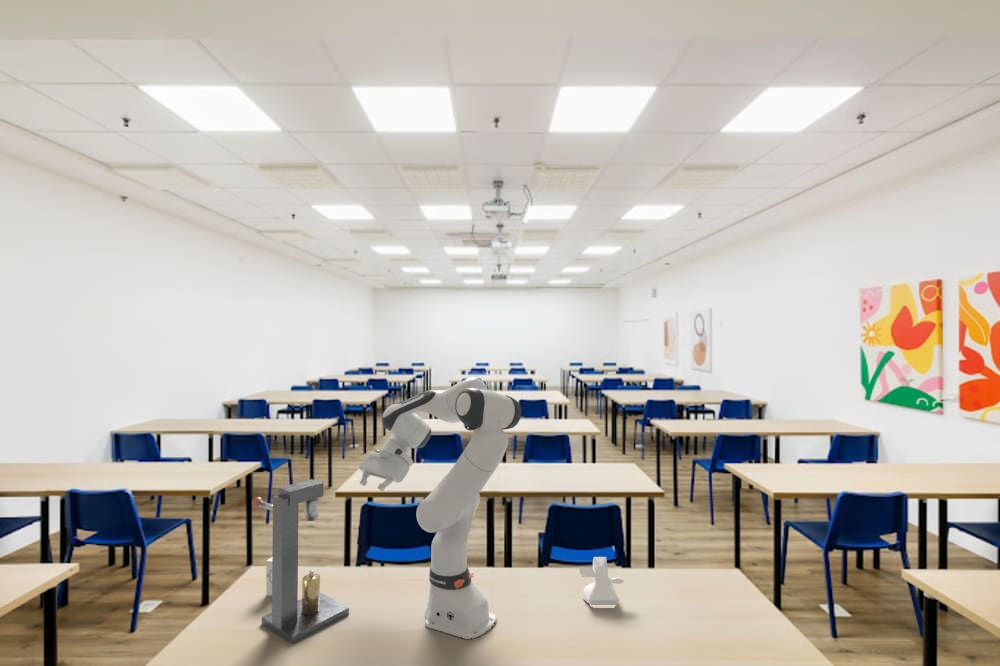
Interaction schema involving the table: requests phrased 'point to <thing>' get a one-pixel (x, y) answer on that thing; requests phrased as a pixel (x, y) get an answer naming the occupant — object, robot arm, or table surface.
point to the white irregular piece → (600, 584)
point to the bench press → (294, 565)
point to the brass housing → (311, 593)
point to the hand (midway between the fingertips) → (370, 487)
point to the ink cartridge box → (269, 576)
